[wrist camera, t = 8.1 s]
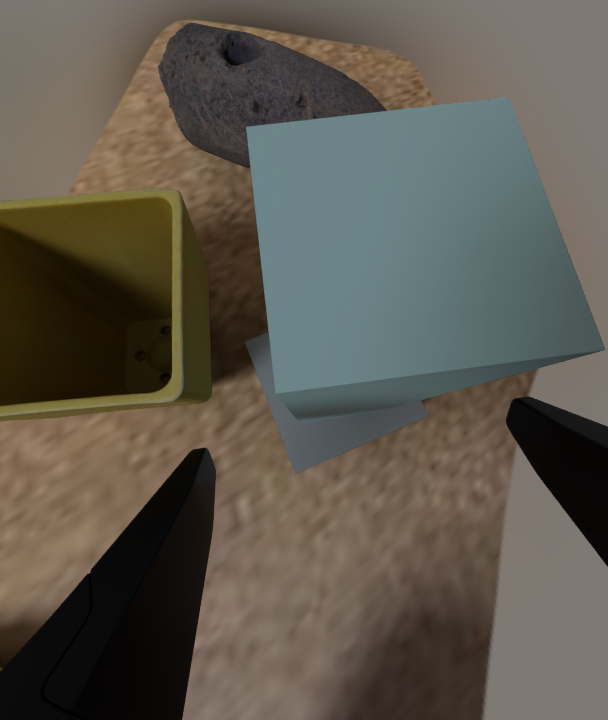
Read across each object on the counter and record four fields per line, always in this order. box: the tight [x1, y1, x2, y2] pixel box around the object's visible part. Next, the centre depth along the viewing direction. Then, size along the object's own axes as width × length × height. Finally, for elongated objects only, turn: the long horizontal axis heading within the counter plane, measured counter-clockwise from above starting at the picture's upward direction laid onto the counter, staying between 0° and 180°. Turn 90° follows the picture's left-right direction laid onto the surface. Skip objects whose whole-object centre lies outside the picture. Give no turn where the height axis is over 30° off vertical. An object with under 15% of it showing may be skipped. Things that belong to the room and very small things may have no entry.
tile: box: [245, 332, 429, 474], centre depth 18 cm, size 8×8×2 cm
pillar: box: [246, 97, 605, 422], centre depth 11 cm, size 4×4×13 cm
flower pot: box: [0, 189, 212, 421], centre depth 15 cm, size 9×9×9 cm
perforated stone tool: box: [158, 23, 386, 168], centre depth 20 cm, size 15×5×7 cm, turn 72°
